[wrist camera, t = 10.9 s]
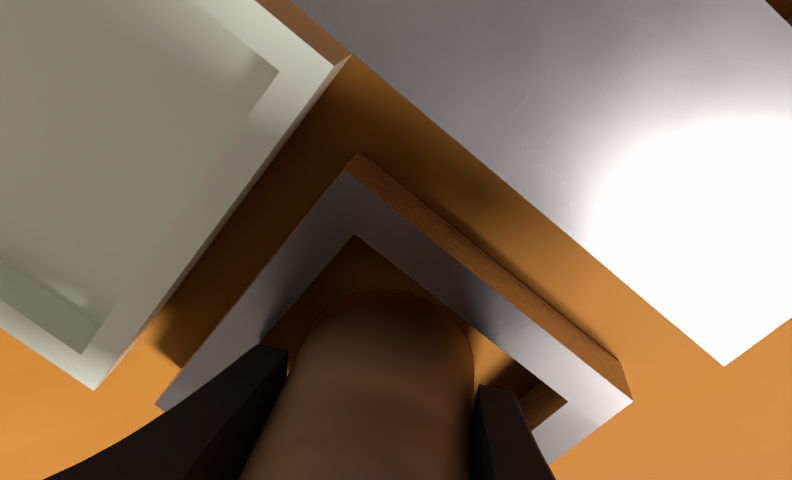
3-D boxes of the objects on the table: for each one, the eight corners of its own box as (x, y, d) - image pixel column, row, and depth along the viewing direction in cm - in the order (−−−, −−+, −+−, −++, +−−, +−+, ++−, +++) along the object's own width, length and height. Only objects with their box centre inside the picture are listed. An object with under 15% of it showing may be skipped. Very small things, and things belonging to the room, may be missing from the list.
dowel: (510, 363, 13) (528, 657, 8) (400, 460, 14) (347, 767, 9) (372, 255, 12) (282, 490, 7) (271, 367, 14) (131, 635, 8)
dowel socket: (620, 362, 13) (633, 401, 12) (410, 530, 15) (404, 575, 14) (358, 150, 12) (345, 170, 10) (180, 369, 14) (154, 404, 13)
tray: (353, 52, 11) (334, 66, 9) (131, 349, 14) (94, 390, 13) (-78, -311, 10) (-173, -354, 8) (-214, 108, 13) (-298, 126, 11)
